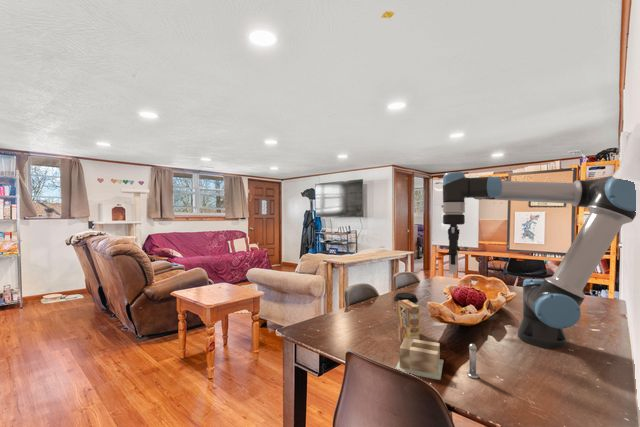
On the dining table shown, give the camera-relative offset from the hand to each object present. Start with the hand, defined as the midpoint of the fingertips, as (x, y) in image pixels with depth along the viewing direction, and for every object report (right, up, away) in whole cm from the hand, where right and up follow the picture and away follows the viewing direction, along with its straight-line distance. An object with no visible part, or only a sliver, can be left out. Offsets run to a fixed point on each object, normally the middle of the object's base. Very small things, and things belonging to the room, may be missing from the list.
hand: (453, 270), depth 118 cm
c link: (-19, -26, -19) cm, 37 cm away
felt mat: (-19, -27, -19) cm, 38 cm away
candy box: (-18, -27, -3) cm, 32 cm away
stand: (-5, -27, -25) cm, 37 cm away
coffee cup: (-15, -27, +9) cm, 32 cm away
